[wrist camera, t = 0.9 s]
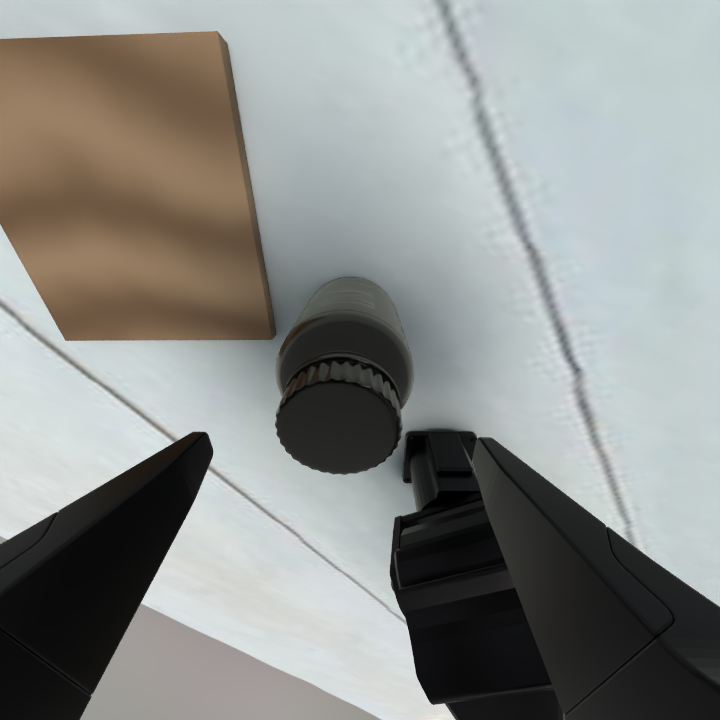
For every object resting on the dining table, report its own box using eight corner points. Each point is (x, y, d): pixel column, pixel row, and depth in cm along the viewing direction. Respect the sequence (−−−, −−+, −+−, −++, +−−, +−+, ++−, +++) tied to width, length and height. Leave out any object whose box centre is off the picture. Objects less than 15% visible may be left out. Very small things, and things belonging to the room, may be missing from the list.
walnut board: (276, 334, 21) (272, 339, 20) (77, 335, 22) (65, 340, 21) (227, 43, 14) (217, 31, 13) (-72, 53, 14) (-102, 42, 13)
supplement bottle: (292, 333, 21) (216, 449, 10) (335, 255, 18) (293, 304, 8) (365, 375, 23) (364, 512, 12) (415, 309, 20) (471, 410, 9)
